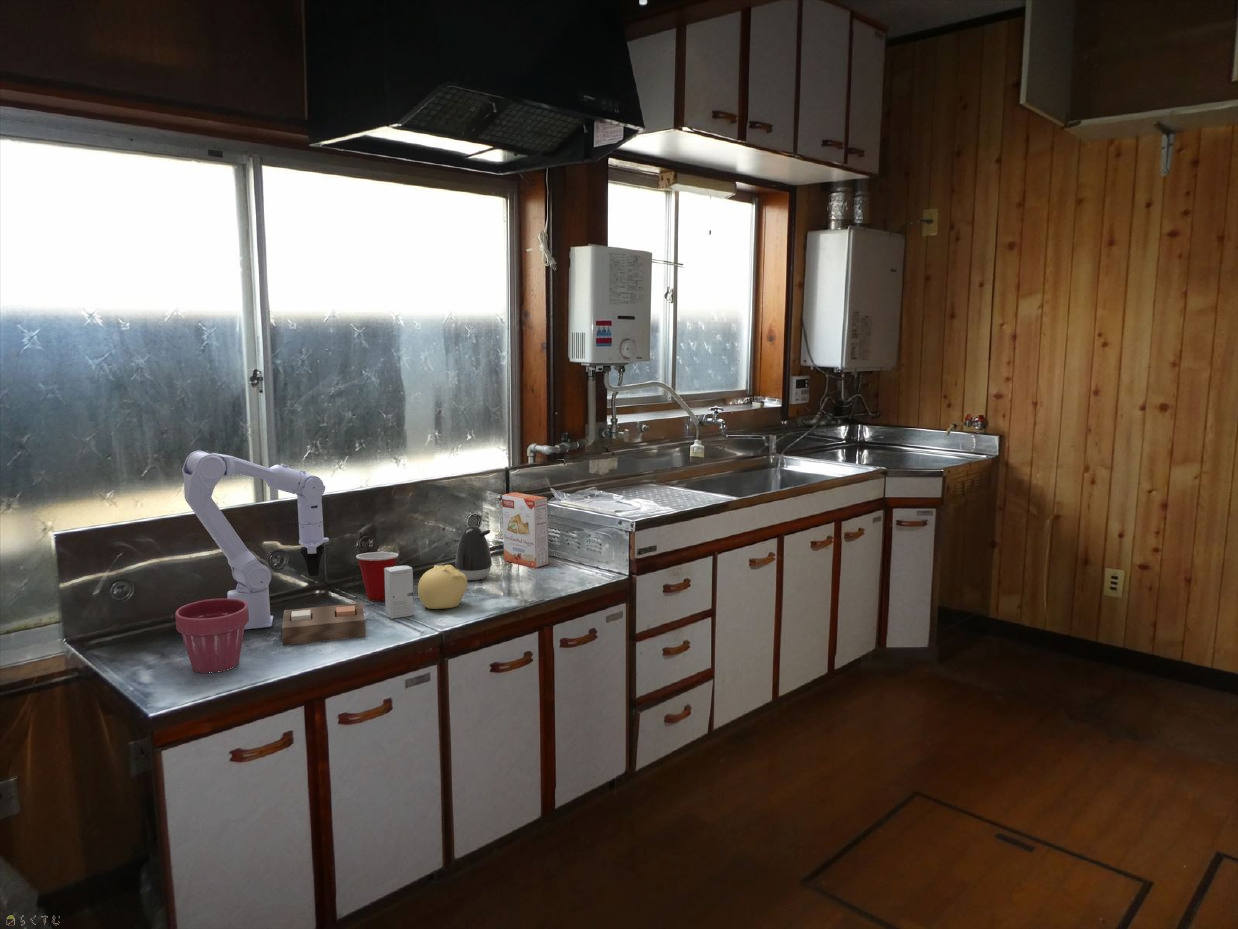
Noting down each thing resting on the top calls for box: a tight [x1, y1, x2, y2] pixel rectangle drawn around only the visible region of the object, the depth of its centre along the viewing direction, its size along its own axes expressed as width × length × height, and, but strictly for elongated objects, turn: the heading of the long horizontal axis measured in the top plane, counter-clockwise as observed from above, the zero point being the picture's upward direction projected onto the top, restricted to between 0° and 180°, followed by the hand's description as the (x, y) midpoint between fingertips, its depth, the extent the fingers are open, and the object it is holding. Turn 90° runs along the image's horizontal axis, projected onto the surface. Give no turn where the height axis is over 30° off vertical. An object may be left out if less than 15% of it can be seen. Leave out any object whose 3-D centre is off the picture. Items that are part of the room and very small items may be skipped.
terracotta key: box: [336, 606, 355, 617], centre depth 217 cm, size 4×4×4 cm
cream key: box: [291, 610, 311, 621], centre depth 214 cm, size 4×4×4 cm
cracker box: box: [501, 492, 549, 569], centre depth 277 cm, size 14×6×21 cm, turn 50°
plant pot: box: [175, 598, 249, 674], centre depth 194 cm, size 14×14×13 cm
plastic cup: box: [356, 551, 399, 602], centre depth 242 cm, size 11×11×12 cm
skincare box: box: [384, 564, 415, 620], centre depth 227 cm, size 6×4×12 cm
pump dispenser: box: [455, 525, 493, 581], centre depth 261 cm, size 10×10×15 cm
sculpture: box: [417, 564, 468, 610], centre depth 235 cm, size 11×12×11 cm
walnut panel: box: [281, 602, 366, 646], centre depth 216 cm, size 18×14×4 cm
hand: (313, 575), depth 230 cm, fingers closed
